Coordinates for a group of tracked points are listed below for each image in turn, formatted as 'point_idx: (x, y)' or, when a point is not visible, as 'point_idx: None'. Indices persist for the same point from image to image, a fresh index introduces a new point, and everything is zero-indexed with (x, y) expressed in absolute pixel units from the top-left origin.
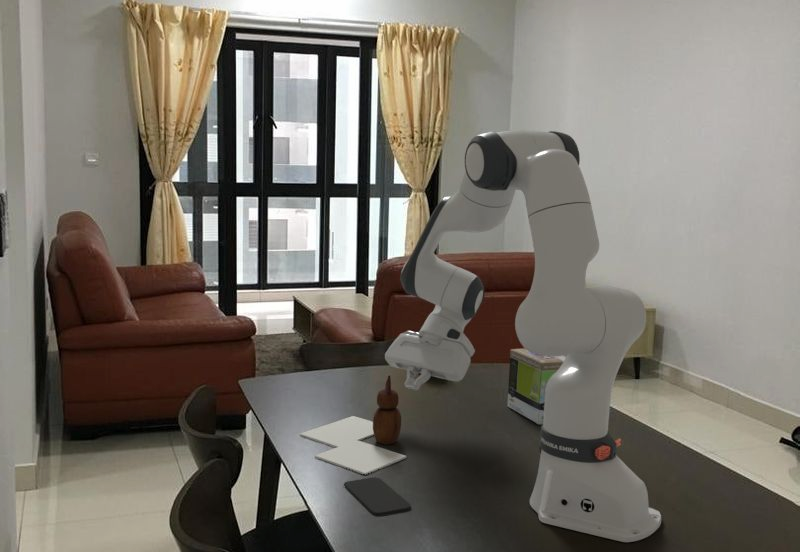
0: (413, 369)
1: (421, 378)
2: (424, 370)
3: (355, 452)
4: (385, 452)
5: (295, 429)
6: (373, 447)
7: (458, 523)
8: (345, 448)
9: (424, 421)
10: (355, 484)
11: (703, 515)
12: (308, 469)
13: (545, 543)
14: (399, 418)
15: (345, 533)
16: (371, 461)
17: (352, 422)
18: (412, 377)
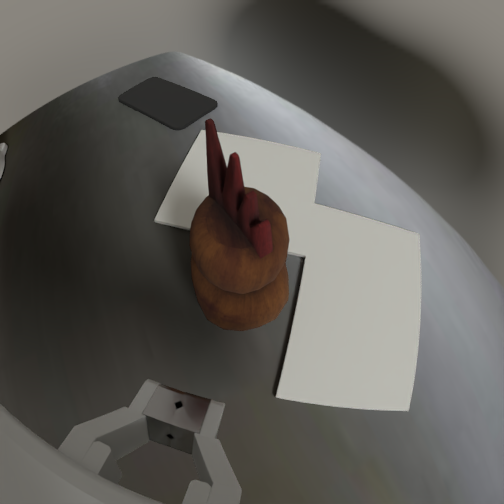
0: (185, 497)
1: (105, 418)
2: (77, 454)
3: (264, 189)
4: None
5: (443, 262)
6: None
7: (73, 105)
8: (295, 199)
9: None
10: (199, 103)
11: None
12: (294, 121)
13: (17, 123)
14: (191, 269)
15: (172, 58)
16: None
17: (386, 366)
18: (201, 477)
